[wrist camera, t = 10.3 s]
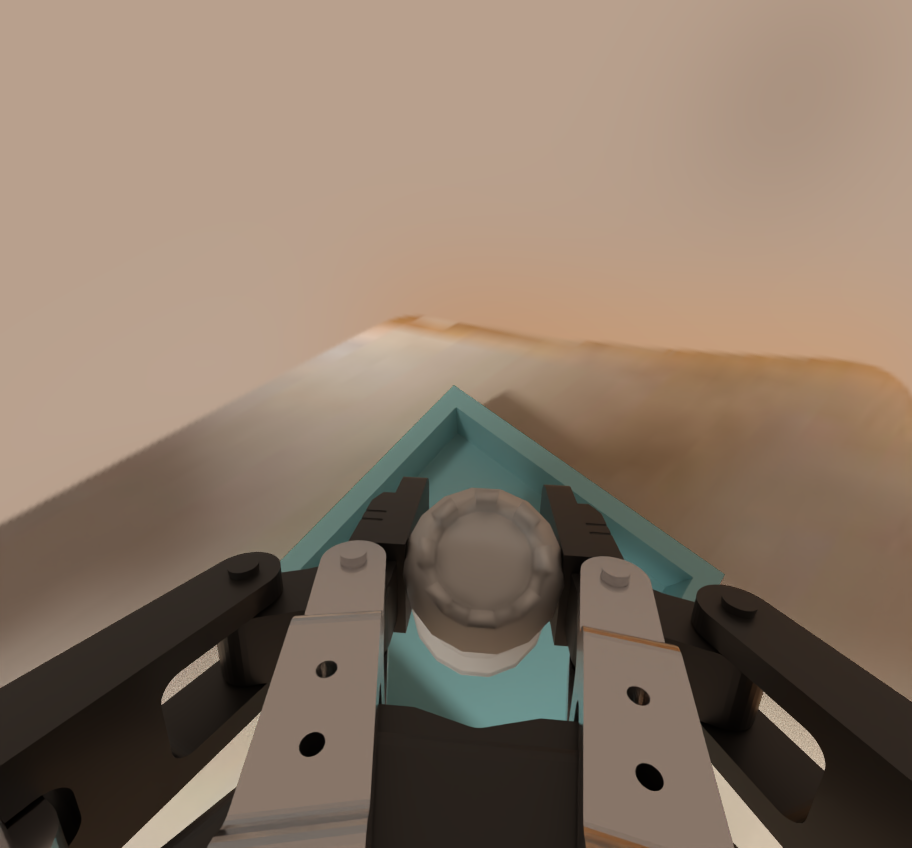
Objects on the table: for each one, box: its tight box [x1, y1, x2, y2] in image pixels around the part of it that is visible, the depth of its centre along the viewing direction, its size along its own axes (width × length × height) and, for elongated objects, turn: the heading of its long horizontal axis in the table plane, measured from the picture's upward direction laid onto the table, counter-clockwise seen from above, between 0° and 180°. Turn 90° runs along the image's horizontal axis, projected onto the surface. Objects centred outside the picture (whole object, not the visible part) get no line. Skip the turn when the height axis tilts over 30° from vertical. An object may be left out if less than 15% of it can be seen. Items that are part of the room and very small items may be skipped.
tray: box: [280, 386, 725, 728], centre depth 17 cm, size 13×13×3 cm
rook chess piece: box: [403, 488, 564, 677], centre depth 12 cm, size 4×4×8 cm
